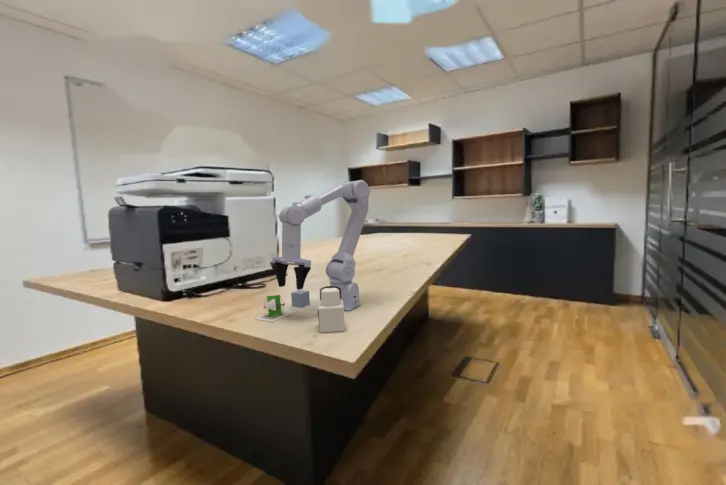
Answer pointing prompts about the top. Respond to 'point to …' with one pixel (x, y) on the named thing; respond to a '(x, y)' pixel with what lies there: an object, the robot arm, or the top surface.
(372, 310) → the top surface
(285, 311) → the letter
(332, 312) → the medicine bottle
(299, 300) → the slate cube
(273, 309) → the geometric puzzle
